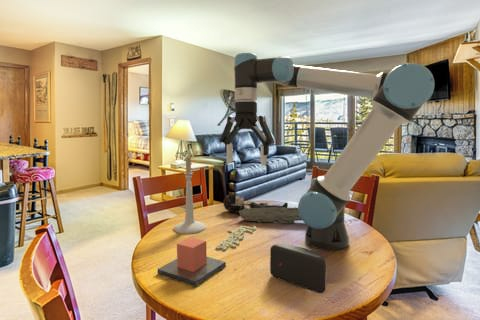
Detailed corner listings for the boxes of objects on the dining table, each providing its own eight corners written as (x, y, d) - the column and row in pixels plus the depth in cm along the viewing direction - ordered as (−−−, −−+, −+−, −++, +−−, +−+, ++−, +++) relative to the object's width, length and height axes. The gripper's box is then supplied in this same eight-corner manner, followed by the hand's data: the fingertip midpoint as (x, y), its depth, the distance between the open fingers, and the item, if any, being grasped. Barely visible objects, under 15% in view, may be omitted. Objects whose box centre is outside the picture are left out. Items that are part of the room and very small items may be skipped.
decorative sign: (235, 223, 134) (258, 226, 131) (235, 225, 134) (258, 228, 131) (206, 246, 110) (233, 250, 106) (206, 249, 110) (233, 253, 106)
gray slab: (225, 266, 96) (225, 245, 95) (195, 286, 84) (195, 263, 84) (189, 256, 103) (189, 237, 103) (157, 273, 92) (156, 252, 91)
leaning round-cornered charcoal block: (330, 289, 83) (331, 254, 82) (323, 296, 80) (324, 260, 78) (277, 271, 93) (277, 239, 92) (268, 276, 90) (269, 244, 89)
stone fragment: (236, 214, 134) (238, 204, 138) (238, 225, 141) (239, 216, 144) (313, 217, 130) (312, 207, 134) (311, 228, 137) (311, 218, 140)
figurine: (282, 207, 137) (217, 195, 145) (279, 228, 138) (215, 215, 147) (289, 197, 155) (231, 187, 164) (287, 215, 157) (229, 204, 165)
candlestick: (176, 235, 123) (173, 157, 119) (172, 225, 135) (169, 154, 131) (208, 231, 127) (207, 156, 123) (202, 222, 139) (200, 153, 135)
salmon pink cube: (206, 263, 95) (206, 241, 94) (193, 271, 89) (192, 247, 89) (191, 259, 98) (190, 237, 97) (177, 266, 93) (176, 243, 92)
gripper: (209, 102, 111) (210, 162, 114) (274, 99, 98) (274, 167, 101) (221, 103, 118) (222, 160, 120) (284, 100, 105) (283, 164, 107)
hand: (246, 163), depth 111 cm, fingers open, 13 cm apart
